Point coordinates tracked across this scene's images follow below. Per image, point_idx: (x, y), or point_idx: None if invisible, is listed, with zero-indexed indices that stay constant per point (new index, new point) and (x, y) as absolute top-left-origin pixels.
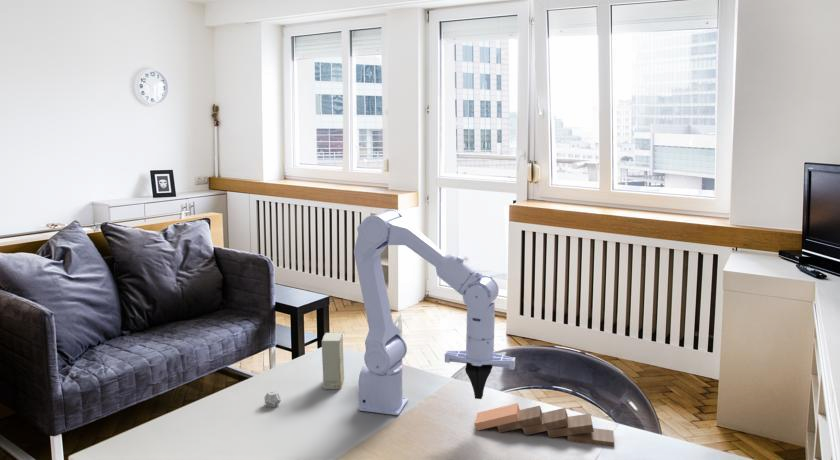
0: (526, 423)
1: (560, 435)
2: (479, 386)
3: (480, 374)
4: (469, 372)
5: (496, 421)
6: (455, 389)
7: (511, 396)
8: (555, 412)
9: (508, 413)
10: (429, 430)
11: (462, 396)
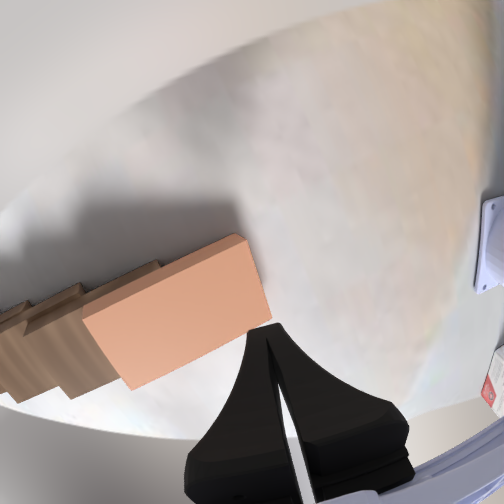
0: (65, 308)
1: (4, 313)
2: (263, 372)
3: (261, 438)
4: (364, 415)
5: (161, 274)
6: None
7: None
8: (27, 382)
9: (121, 320)
10: (388, 154)
11: (353, 386)
